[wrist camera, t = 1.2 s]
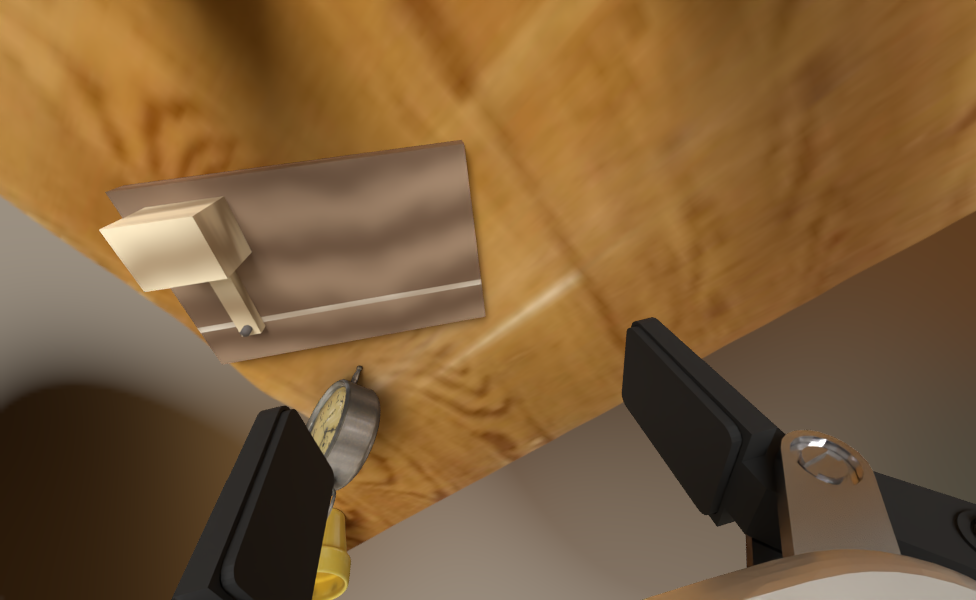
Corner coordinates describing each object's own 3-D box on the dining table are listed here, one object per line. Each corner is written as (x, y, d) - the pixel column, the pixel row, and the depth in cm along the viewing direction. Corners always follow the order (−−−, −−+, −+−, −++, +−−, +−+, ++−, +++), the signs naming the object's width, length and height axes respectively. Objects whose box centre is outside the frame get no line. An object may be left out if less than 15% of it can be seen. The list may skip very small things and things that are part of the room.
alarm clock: (353, 353, 42) (324, 486, 28) (392, 372, 44) (383, 502, 31) (306, 409, 45) (260, 552, 32) (345, 424, 48) (318, 562, 34)
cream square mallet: (145, 207, 29) (99, 229, 24) (224, 196, 29) (192, 216, 25) (224, 333, 35) (199, 367, 31) (287, 322, 36) (270, 354, 32)
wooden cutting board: (123, 185, 29) (105, 192, 28) (461, 140, 32) (463, 143, 30) (230, 352, 39) (222, 364, 37) (482, 306, 42) (485, 316, 40)
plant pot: (317, 491, 54) (300, 565, 46) (370, 512, 59) (363, 582, 51) (273, 523, 56) (249, 599, 48) (328, 541, 61) (315, 612, 53)
